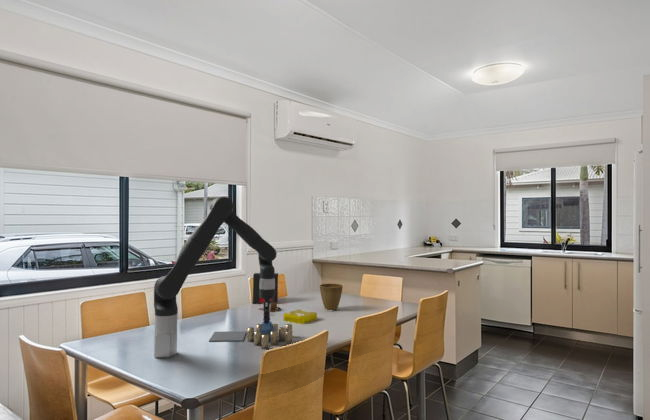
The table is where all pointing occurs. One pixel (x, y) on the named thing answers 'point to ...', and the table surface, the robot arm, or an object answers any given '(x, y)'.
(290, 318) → the element tile
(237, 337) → the mat
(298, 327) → the table surface
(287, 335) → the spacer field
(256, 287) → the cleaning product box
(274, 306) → the brown piece
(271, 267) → the robot arm
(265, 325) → the perfume bottle
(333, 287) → the plant pot
